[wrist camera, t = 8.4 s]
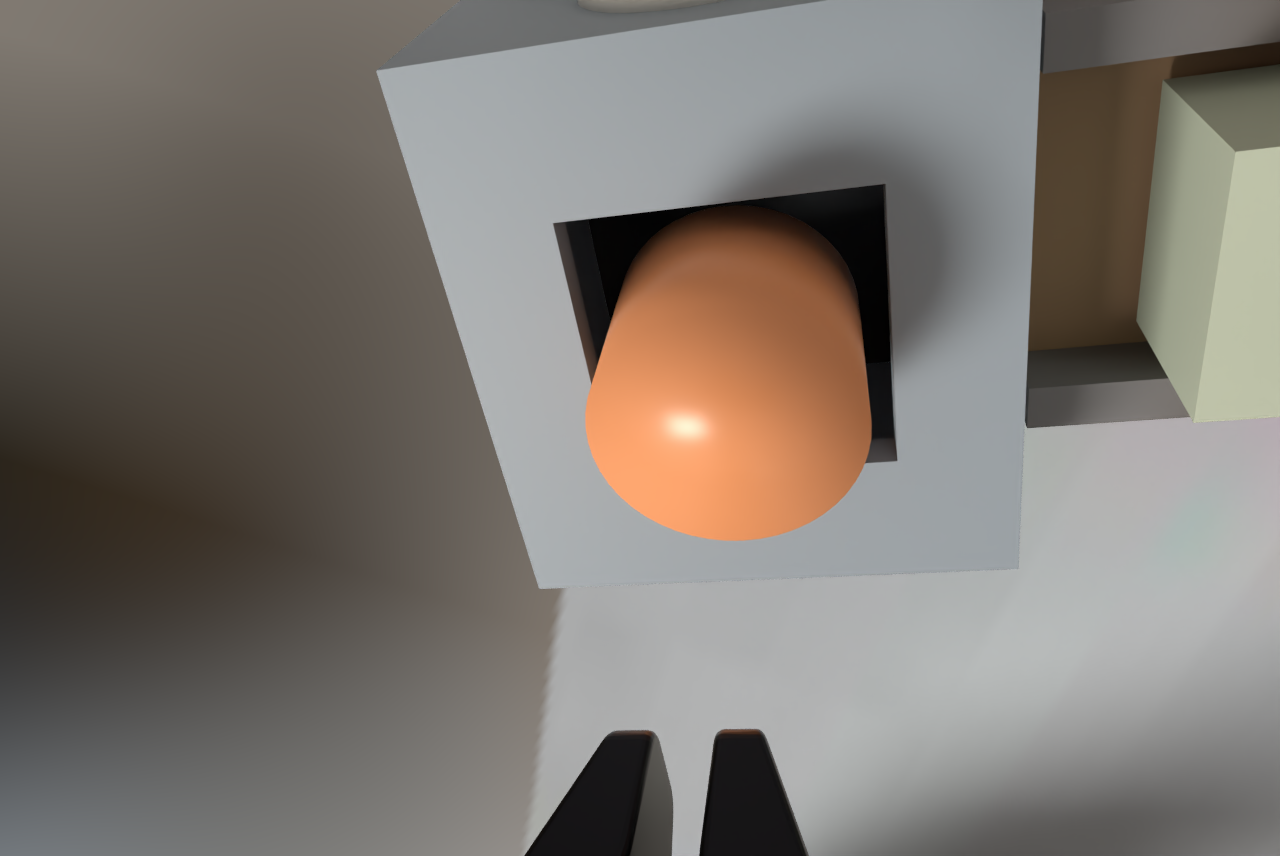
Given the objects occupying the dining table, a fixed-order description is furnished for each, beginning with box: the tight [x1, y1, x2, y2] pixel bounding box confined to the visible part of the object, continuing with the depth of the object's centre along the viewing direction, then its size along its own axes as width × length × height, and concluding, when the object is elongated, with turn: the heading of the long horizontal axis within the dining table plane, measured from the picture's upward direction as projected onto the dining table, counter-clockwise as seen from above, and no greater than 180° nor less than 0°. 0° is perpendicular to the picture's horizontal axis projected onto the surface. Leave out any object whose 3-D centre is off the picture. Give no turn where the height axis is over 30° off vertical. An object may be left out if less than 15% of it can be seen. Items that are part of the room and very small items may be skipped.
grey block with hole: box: [376, 0, 1043, 589], centre depth 16 cm, size 8×9×5 cm
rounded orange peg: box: [585, 205, 872, 541], centre depth 14 cm, size 4×4×3 cm
